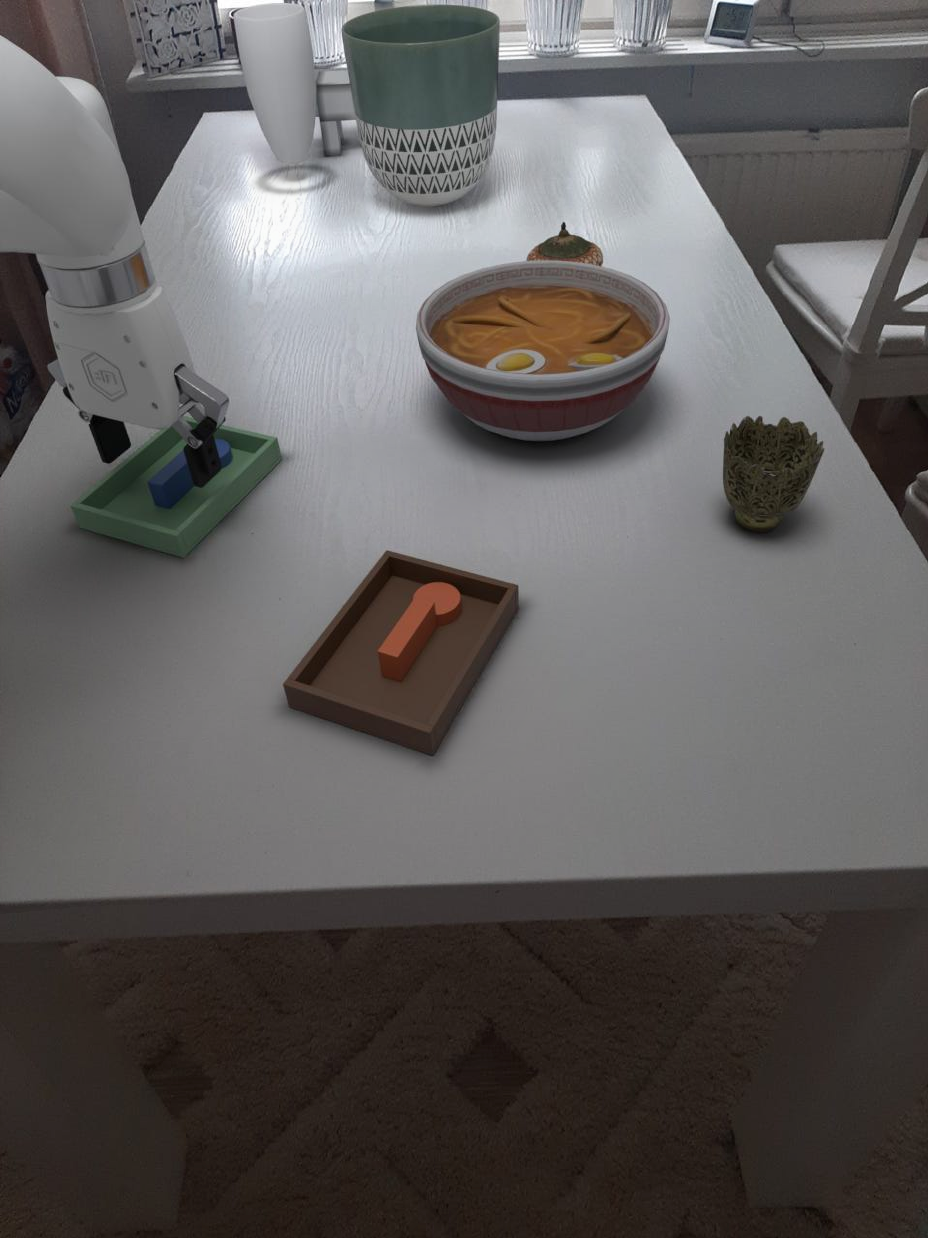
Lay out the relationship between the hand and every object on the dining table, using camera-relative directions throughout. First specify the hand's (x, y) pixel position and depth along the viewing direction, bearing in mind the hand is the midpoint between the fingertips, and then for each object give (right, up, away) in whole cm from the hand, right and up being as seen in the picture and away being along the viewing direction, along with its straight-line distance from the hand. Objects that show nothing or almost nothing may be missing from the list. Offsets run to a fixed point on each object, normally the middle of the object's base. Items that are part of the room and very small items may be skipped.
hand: (162, 466), depth 80 cm
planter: (+21, +46, +51) cm, 72 cm away
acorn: (+37, +22, +25) cm, 50 cm away
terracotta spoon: (+23, -14, -11) cm, 29 cm away
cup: (+1, +53, +60) cm, 79 cm away
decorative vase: (+50, -5, -3) cm, 51 cm away
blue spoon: (+1, 0, +4) cm, 5 cm away
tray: (+22, -16, -12) cm, 30 cm away
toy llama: (+10, +62, +69) cm, 93 cm away
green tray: (+1, -2, +4) cm, 4 cm away
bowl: (+33, +7, +11) cm, 36 cm away
